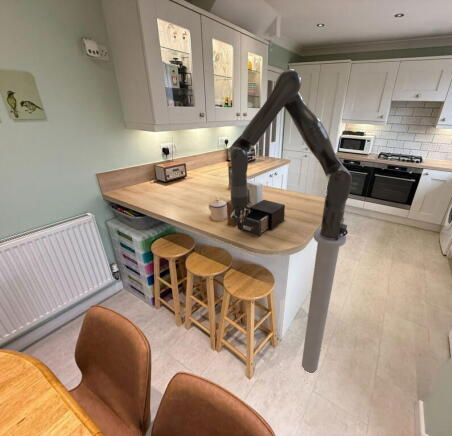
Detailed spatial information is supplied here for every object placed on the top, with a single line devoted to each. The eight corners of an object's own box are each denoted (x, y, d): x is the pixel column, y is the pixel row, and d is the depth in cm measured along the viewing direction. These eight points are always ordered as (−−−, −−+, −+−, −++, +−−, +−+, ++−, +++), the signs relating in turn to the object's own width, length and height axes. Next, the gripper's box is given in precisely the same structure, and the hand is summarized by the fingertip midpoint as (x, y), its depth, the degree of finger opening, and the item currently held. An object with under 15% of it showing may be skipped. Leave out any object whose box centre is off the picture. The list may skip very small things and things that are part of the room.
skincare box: (234, 200, 156) (233, 177, 149) (241, 198, 160) (240, 176, 153) (256, 209, 143) (256, 185, 136) (263, 207, 146) (263, 183, 139)
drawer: (254, 240, 109) (254, 225, 105) (234, 233, 115) (233, 219, 112) (272, 226, 121) (273, 213, 118) (253, 220, 127) (253, 207, 124)
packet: (239, 223, 127) (238, 200, 121) (233, 226, 123) (232, 203, 118) (233, 221, 129) (232, 199, 123) (227, 224, 125) (226, 202, 120)
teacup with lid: (230, 217, 133) (229, 198, 128) (219, 223, 127) (217, 203, 122) (215, 211, 140) (214, 193, 135) (204, 217, 133) (202, 198, 128)
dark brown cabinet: (271, 230, 120) (271, 213, 115) (250, 223, 126) (249, 207, 122) (284, 220, 130) (284, 204, 125) (263, 214, 136) (263, 199, 132)
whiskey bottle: (228, 189, 176) (225, 146, 162) (233, 185, 185) (231, 144, 171) (240, 191, 173) (239, 146, 159) (245, 187, 182) (244, 144, 168)
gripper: (236, 200, 93) (237, 237, 101) (255, 191, 103) (255, 225, 111) (222, 196, 97) (224, 232, 105) (241, 188, 107) (242, 221, 115)
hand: (240, 228), depth 108 cm, fingers closed
